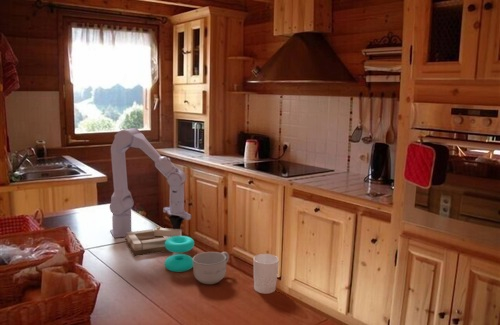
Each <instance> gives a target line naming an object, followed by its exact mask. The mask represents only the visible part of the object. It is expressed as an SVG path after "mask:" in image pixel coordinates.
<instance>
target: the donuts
mask: <svg viewBox="0 0 500 325" xmlns="http://www.w3.org/2000/svg"><path fill="white" fill-rule="evenodd" d="M194 246H195V240H194V239H193V238H192V237H190V236H187V235H181V236H173V237H169V238H168V239H167V240H166V241H165V247H166V249H167V250H169V251H168V252H172V253H176V254H172V255H170V256H168V257H167V258H166V259H165V260H164V266H165V268H166V269H167V270H169V271H170V272H173V273H175V272H176V273H179V272H180V273H181V272H182V273H183V272H186V271H187V272H188V271H190V270H191V269H192V268H193V260H192V259H193V256H191V255H189V254H184V253H186V252H189V251H191V250H192V249H193V248H194Z"/></svg>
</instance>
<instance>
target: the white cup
mask: <svg viewBox="0 0 500 325" xmlns="http://www.w3.org/2000/svg"><path fill="white" fill-rule="evenodd" d="M252 262H253V290H254V291H255V292H256V293H259V294H265V295H266V294H267V295H268V294H273V293H274V292H275V291H276V287H277V280H278V272H279V265H280V264H279V262H280V259H279V257H278V256H276V255H274V254H271V253H261V254H256V255H254V256H253V261H252Z"/></svg>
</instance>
